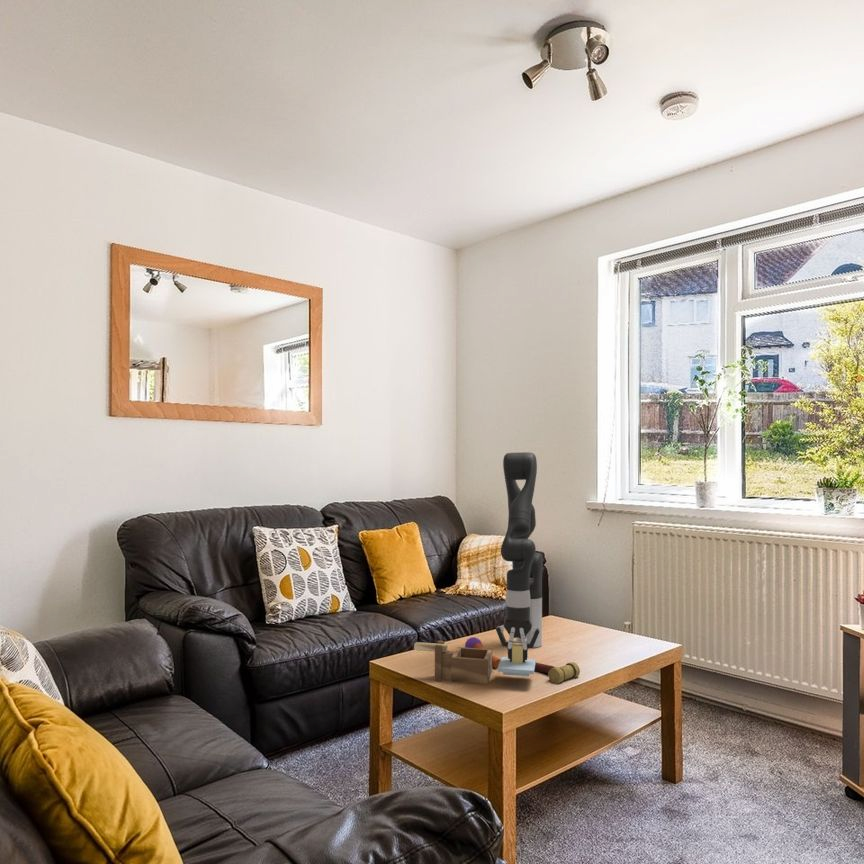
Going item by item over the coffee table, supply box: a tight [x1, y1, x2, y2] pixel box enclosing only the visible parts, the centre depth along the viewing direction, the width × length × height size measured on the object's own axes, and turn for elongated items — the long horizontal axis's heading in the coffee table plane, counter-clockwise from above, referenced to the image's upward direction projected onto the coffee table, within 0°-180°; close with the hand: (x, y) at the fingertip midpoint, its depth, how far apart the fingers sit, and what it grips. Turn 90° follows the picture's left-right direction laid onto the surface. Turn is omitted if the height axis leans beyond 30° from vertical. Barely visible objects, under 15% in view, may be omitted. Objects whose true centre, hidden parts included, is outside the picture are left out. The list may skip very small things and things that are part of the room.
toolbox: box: [434, 640, 493, 685], centre depth 208 cm, size 12×16×11 cm
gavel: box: [534, 661, 581, 684], centre depth 212 cm, size 21×5×10 cm
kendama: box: [464, 636, 501, 670], centre depth 224 cm, size 6×6×20 cm
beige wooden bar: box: [413, 641, 449, 653], centre depth 206 cm, size 2×10×2 cm, turn 78°
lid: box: [497, 642, 537, 677], centre depth 203 cm, size 12×11×7 cm
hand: (517, 660), depth 205 cm, fingers closed on lid, 3 cm apart
